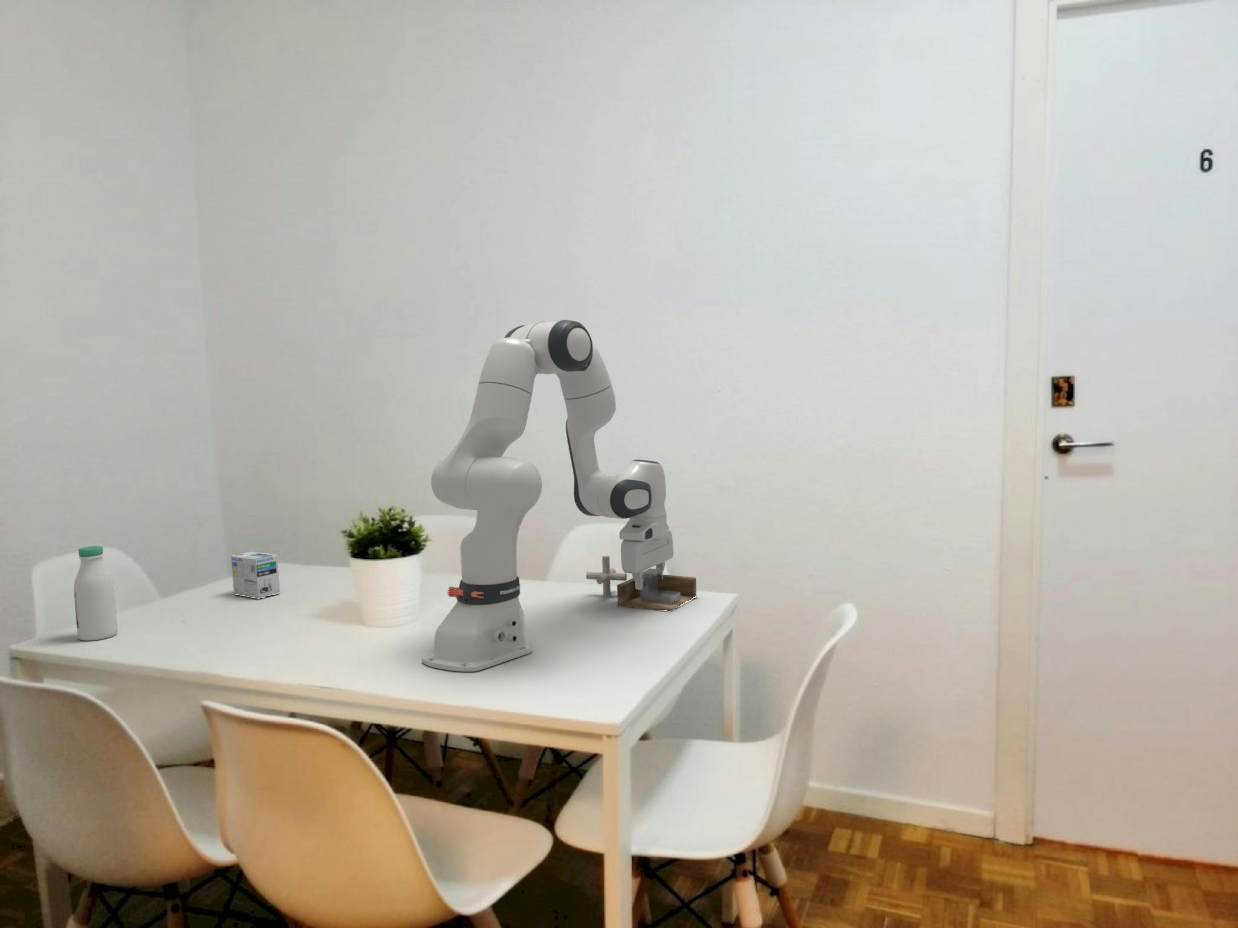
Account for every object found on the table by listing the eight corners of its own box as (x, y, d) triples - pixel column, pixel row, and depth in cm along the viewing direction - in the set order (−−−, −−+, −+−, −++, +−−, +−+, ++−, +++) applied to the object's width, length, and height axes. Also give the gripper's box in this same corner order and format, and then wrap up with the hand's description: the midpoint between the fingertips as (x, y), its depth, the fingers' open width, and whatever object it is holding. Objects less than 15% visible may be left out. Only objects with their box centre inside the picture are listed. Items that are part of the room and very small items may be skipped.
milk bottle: (126, 632, 202) (118, 544, 200) (97, 642, 195) (90, 551, 193) (98, 630, 205) (90, 543, 203) (69, 640, 197) (61, 550, 195)
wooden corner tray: (670, 611, 207) (670, 590, 206) (617, 605, 214) (617, 584, 213) (696, 597, 219) (696, 577, 218) (645, 592, 226) (644, 572, 225)
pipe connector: (581, 600, 220) (579, 559, 219) (594, 590, 229) (592, 551, 228) (620, 602, 217) (619, 561, 216) (632, 592, 226) (630, 552, 225)
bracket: (640, 601, 214) (640, 572, 214) (650, 596, 219) (649, 568, 218) (671, 605, 210) (670, 575, 210) (680, 600, 215) (679, 571, 214)
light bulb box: (281, 594, 235) (278, 553, 234) (258, 600, 229) (255, 558, 228) (255, 590, 240) (252, 550, 239) (232, 595, 235) (229, 555, 234)
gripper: (656, 519, 225) (657, 574, 226) (615, 533, 207) (617, 592, 208) (679, 521, 222) (680, 576, 223) (639, 535, 204) (641, 595, 205)
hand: (649, 584), depth 216 cm, fingers open, 8 cm apart
